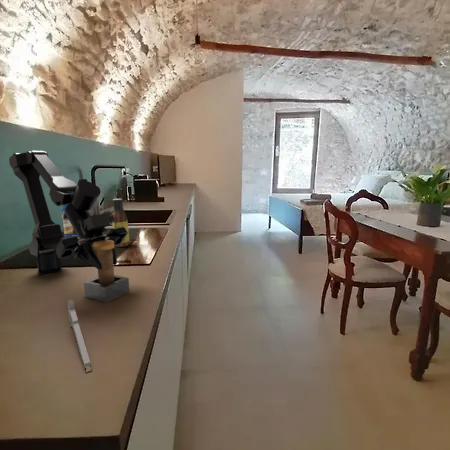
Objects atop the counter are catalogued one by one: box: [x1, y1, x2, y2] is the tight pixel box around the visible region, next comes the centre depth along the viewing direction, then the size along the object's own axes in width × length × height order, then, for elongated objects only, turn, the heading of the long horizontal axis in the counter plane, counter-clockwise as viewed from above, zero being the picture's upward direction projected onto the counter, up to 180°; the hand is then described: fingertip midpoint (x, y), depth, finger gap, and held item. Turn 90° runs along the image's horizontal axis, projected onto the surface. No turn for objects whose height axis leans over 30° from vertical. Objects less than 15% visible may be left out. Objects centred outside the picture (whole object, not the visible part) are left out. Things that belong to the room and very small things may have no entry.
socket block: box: [83, 274, 130, 303], centre depth 88 cm, size 8×8×4 cm
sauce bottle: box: [111, 198, 130, 248], centre depth 136 cm, size 7×6×20 cm
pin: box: [92, 240, 115, 285], centre depth 87 cm, size 5×5×13 cm
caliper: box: [67, 299, 91, 367], centre depth 64 cm, size 20×1×6 cm, turn 32°
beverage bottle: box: [61, 205, 79, 239], centre depth 150 cm, size 8×8×20 cm
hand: (108, 266), depth 86 cm, fingers closed on pin, 4 cm apart
